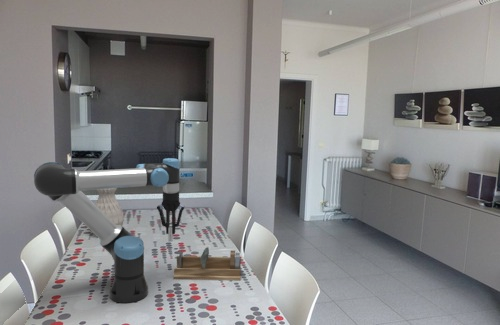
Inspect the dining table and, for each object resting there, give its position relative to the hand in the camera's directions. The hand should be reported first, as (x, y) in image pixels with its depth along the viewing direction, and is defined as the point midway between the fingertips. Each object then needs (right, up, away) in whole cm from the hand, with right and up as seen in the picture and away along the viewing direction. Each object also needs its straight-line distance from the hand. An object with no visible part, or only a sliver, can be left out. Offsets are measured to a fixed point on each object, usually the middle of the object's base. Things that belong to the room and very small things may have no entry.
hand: (170, 240), depth 178 cm
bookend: (+3, -15, +2) cm, 16 cm away
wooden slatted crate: (+17, -17, +2) cm, 24 cm away
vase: (-53, -8, +60) cm, 80 cm away
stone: (+16, -13, +1) cm, 21 cm away
